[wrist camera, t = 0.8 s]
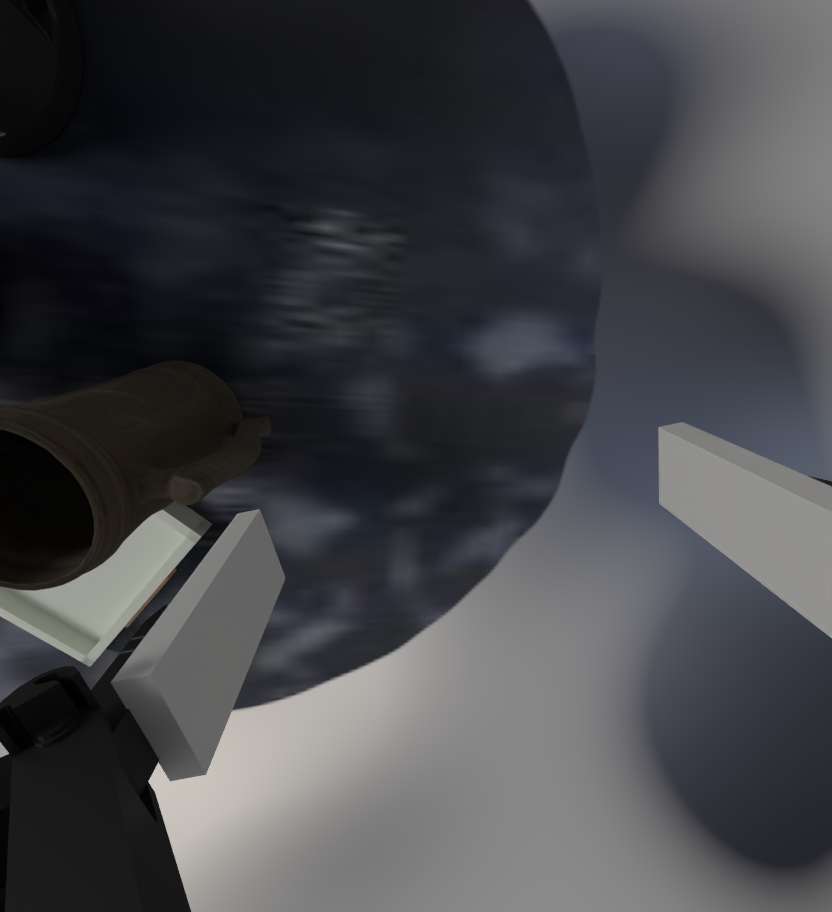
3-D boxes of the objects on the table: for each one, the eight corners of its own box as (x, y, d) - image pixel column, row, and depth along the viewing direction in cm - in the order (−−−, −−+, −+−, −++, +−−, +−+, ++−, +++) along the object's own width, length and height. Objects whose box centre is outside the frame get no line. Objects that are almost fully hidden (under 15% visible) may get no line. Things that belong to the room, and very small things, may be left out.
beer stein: (145, 483, 42) (-41, 623, 23) (98, 375, 38) (-168, 434, 20) (301, 450, 42) (243, 560, 23) (268, 339, 39) (169, 364, 20)
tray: (-45, 561, 44) (-71, 576, 42) (55, 413, 40) (33, 420, 37) (107, 650, 48) (92, 668, 46) (214, 525, 44) (204, 538, 41)
